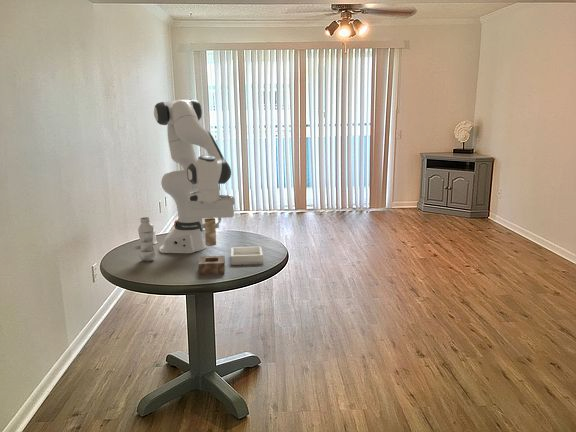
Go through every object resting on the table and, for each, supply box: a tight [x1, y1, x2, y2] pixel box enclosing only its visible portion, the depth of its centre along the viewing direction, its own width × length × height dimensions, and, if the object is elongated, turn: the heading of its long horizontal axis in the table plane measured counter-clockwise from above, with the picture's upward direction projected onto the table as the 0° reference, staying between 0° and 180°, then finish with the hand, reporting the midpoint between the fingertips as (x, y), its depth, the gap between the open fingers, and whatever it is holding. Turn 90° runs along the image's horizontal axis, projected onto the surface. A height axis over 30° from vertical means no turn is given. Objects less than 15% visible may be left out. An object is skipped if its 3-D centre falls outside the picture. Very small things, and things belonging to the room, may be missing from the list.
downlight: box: [150, 223, 158, 245], centre depth 245 cm, size 8×7×10 cm
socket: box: [197, 255, 226, 277], centre depth 202 cm, size 10×10×5 cm
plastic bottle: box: [137, 216, 156, 262], centre depth 215 cm, size 6×7×20 cm
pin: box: [204, 218, 217, 247], centre depth 199 cm, size 4×4×11 cm
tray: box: [230, 245, 264, 266], centre depth 218 cm, size 14×14×4 cm
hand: (210, 227), depth 199 cm, fingers closed on pin, 4 cm apart
